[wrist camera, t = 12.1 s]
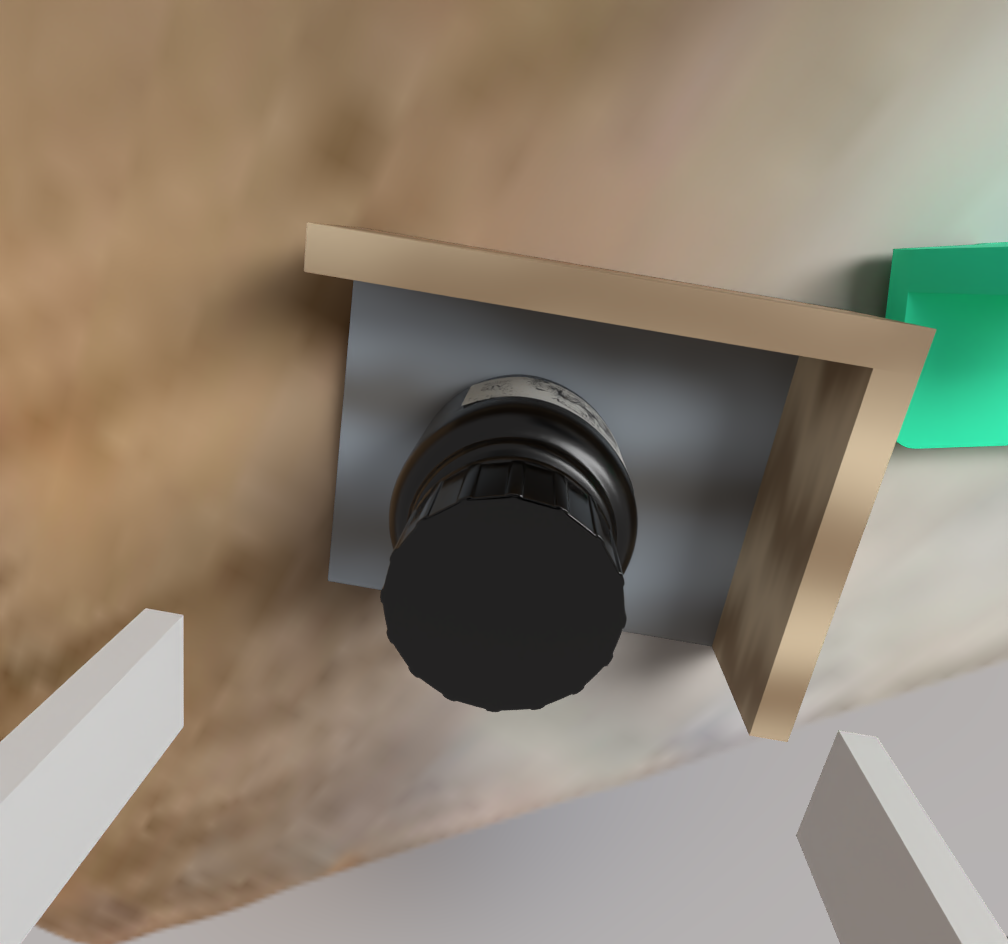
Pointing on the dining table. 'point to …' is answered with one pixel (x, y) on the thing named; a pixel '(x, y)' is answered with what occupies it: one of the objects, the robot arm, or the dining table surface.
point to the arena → (643, 430)
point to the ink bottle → (510, 546)
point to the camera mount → (956, 342)
